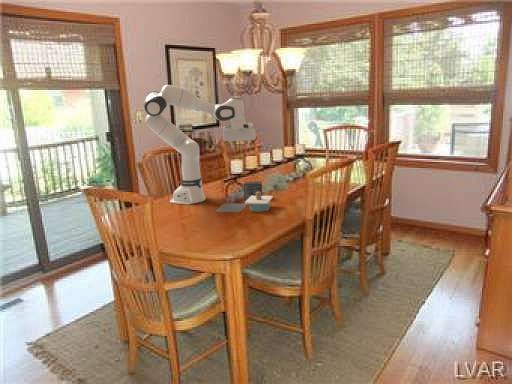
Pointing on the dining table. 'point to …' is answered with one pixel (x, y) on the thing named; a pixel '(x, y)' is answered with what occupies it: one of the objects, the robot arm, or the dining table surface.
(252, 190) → the small box
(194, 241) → the dining table surface
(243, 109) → the robot arm
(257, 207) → the bowl
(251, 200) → the cover sheet
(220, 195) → the dining table surface
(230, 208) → the mat
